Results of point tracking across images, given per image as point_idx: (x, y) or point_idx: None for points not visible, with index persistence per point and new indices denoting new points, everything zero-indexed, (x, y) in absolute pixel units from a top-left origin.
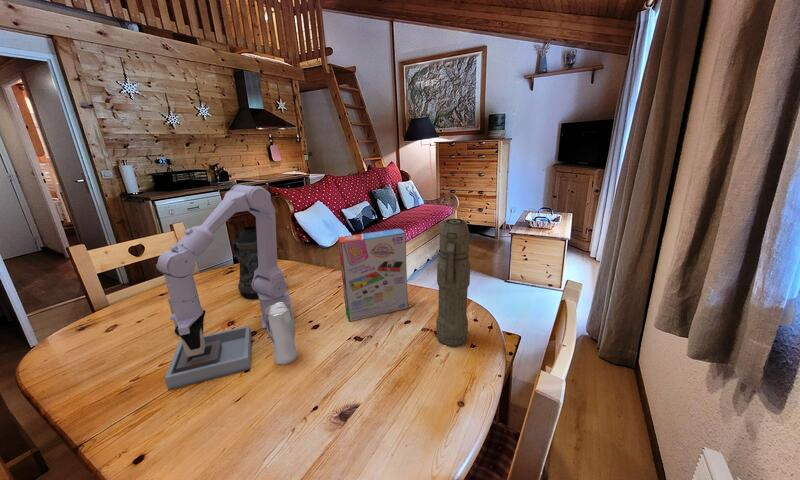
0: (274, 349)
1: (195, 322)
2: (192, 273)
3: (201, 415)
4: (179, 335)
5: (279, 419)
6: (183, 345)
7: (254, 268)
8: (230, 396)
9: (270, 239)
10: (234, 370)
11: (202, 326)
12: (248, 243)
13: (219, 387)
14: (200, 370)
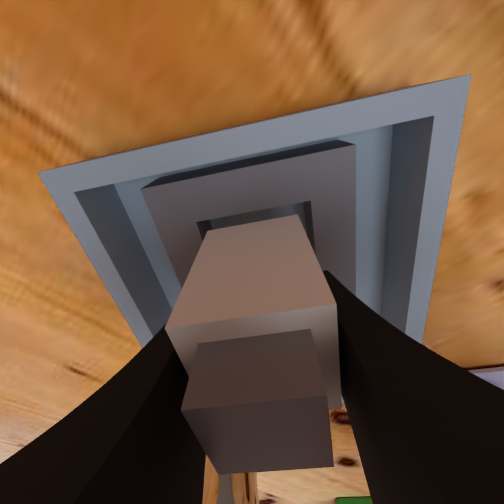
0: (209, 465)
1: (373, 465)
2: None
3: (5, 312)
4: (6, 471)
5: (38, 431)
6: (187, 280)
7: None
8: (85, 355)
9: None
10: None
11: (350, 416)
12: None
13: (118, 325)
14: (122, 307)
